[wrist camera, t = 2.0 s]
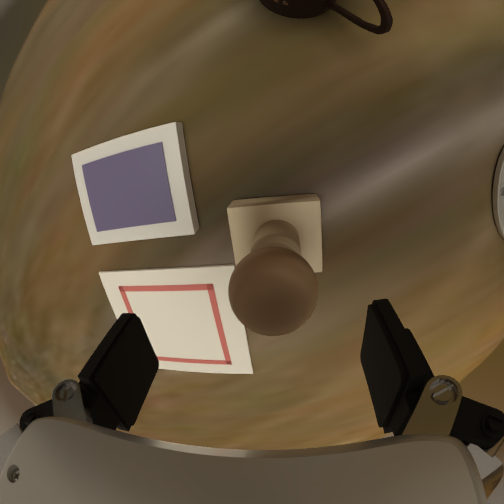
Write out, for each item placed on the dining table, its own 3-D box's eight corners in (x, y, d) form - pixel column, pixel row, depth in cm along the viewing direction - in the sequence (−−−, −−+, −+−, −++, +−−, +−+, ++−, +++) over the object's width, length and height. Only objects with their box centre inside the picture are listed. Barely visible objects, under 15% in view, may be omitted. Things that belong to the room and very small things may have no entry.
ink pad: (182, 122, 19) (174, 121, 18) (199, 228, 23) (193, 235, 21) (80, 153, 21) (70, 155, 19) (100, 239, 24) (91, 245, 23)
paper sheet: (234, 263, 24) (233, 266, 23) (253, 371, 29) (253, 374, 29) (99, 271, 26) (98, 272, 26) (140, 364, 31) (139, 366, 31)
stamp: (315, 192, 20) (349, 256, 10) (317, 255, 23) (341, 357, 12) (234, 198, 21) (184, 266, 11) (243, 260, 24) (211, 361, 13)
